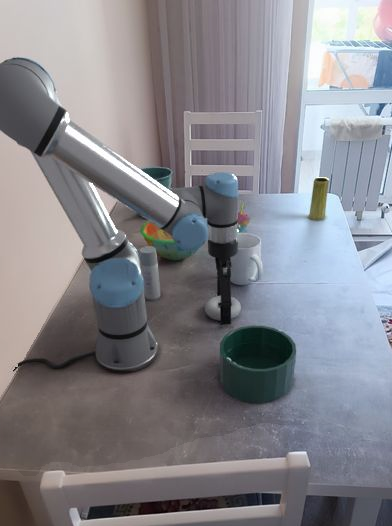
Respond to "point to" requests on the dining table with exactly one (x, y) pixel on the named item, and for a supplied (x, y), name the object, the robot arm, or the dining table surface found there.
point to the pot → (257, 363)
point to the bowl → (163, 242)
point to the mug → (247, 260)
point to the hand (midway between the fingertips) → (223, 310)
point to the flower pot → (159, 175)
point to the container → (150, 273)
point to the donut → (214, 309)
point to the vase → (319, 199)
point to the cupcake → (242, 220)
